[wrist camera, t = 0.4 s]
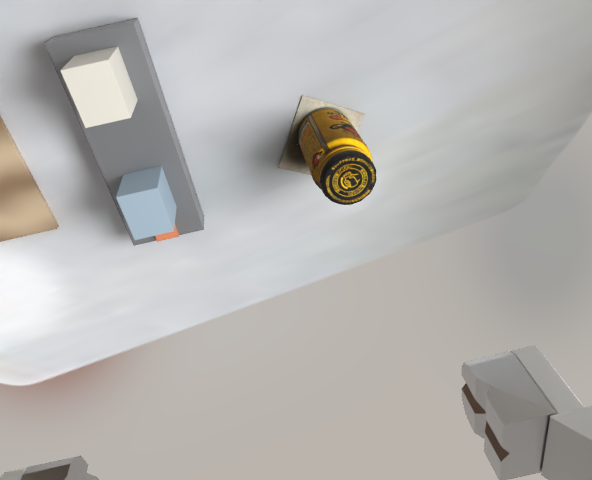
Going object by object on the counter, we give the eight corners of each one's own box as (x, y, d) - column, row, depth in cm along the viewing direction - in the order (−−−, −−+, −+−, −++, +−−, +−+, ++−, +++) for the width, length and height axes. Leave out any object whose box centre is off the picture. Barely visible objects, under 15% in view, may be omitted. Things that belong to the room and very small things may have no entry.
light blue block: (126, 166, 53) (115, 197, 48) (163, 158, 53) (157, 187, 48) (142, 206, 56) (134, 240, 50) (177, 198, 56) (173, 231, 50)
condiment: (364, 113, 55) (398, 157, 45) (336, 181, 59) (362, 235, 49) (302, 94, 53) (323, 136, 43) (278, 166, 57) (292, 219, 47)
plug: (78, 50, 47) (60, 70, 41) (121, 41, 47) (108, 59, 41) (100, 102, 49) (85, 128, 44) (140, 93, 50) (130, 117, 44)
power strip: (53, 36, 47) (42, 45, 44) (137, 17, 47) (132, 25, 44) (137, 231, 59) (133, 248, 56) (203, 216, 59) (203, 232, 56)
